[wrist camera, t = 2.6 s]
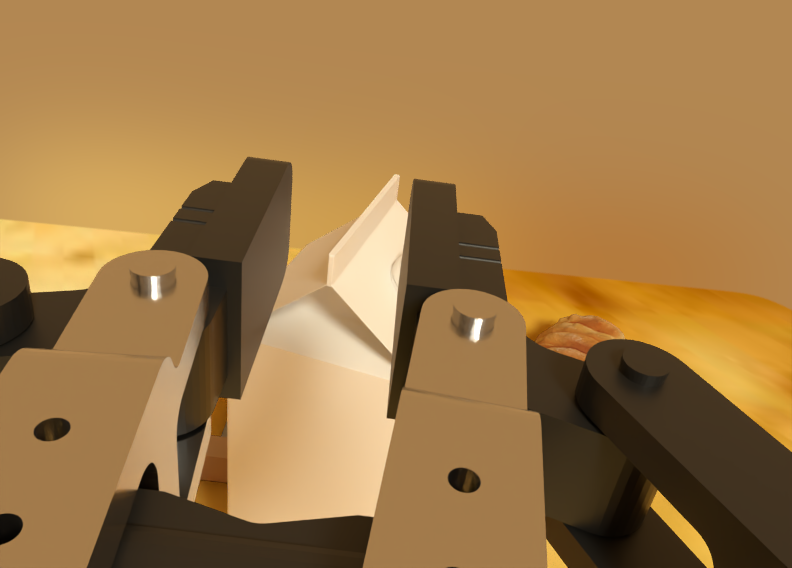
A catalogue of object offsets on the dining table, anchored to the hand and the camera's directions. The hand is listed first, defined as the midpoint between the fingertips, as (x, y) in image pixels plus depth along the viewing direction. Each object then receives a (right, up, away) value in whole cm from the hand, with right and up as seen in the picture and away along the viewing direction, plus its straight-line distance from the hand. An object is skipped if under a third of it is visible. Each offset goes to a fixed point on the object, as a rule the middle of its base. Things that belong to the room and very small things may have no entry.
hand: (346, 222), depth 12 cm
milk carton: (-2, -15, +22) cm, 27 cm away
